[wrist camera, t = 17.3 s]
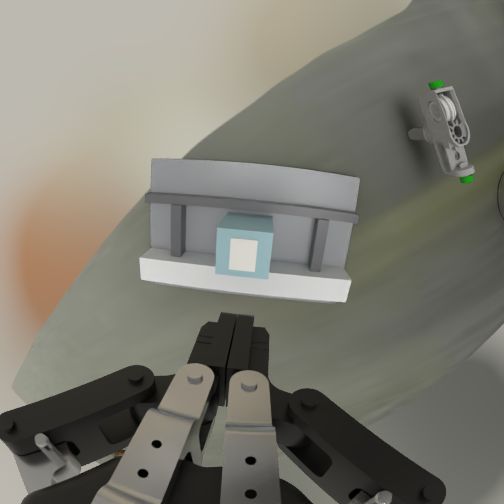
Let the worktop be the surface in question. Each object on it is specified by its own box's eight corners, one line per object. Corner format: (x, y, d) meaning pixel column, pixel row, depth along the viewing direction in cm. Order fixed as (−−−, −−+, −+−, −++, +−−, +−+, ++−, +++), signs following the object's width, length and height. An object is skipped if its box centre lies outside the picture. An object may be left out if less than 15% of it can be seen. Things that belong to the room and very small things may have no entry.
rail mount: (356, 177, 30) (370, 181, 25) (333, 298, 35) (341, 318, 31) (155, 158, 30) (138, 159, 26) (156, 279, 36) (142, 295, 31)
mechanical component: (416, 175, 29) (463, 186, 19) (388, 98, 26) (429, 82, 16) (433, 168, 28) (481, 177, 19) (405, 94, 25) (450, 78, 16)
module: (272, 216, 31) (273, 234, 24) (268, 253, 32) (268, 280, 25) (228, 211, 31) (216, 228, 24) (226, 249, 32) (214, 275, 25)
